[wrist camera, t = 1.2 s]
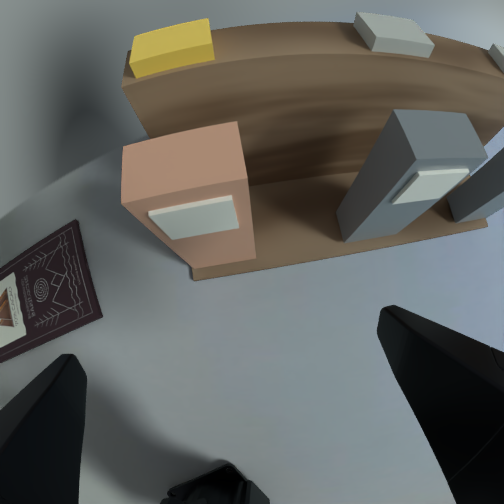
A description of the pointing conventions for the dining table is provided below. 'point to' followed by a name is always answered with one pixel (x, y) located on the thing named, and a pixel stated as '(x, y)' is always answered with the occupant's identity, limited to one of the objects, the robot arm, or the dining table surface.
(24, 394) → the robot arm
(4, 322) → the chocolate bar
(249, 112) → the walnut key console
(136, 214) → the terracotta key
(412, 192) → the middle slate key
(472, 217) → the key
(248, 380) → the dining table surface
